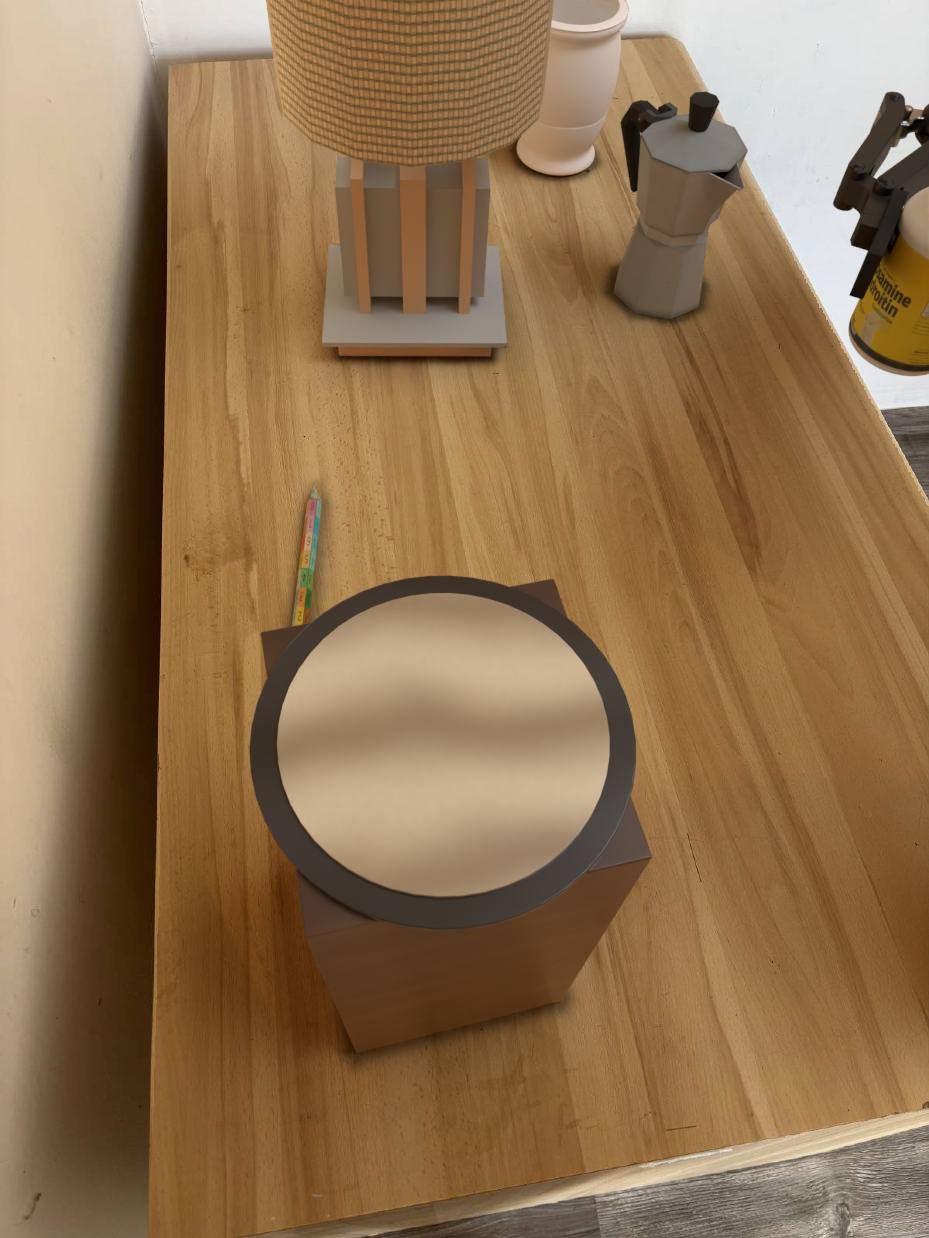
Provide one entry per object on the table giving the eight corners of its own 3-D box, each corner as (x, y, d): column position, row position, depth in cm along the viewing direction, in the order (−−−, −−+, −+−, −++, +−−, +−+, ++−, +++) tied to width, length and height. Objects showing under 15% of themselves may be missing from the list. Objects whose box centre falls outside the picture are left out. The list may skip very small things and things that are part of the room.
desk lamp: (300, 389, 80) (226, -100, 50) (313, 245, 90) (257, -229, 61) (528, 389, 81) (587, -91, 51) (514, 247, 91) (556, -220, 62)
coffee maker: (737, 312, 87) (802, 122, 72) (663, 344, 84) (715, 154, 69) (639, 226, 94) (679, 35, 78) (567, 253, 91) (595, 61, 76)
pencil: (309, 486, 74) (284, 686, 64) (307, 477, 73) (282, 678, 63) (325, 487, 74) (303, 686, 64) (324, 477, 73) (301, 678, 63)
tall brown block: (582, 1015, 54) (694, 873, 31) (341, 1077, 51) (275, 973, 29) (518, 791, 61) (572, 545, 38) (304, 837, 59) (228, 606, 36)
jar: (623, 168, 99) (651, 15, 86) (540, 194, 96) (558, 39, 83) (568, 118, 104) (588, -34, 91) (488, 141, 101) (497, -12, 88)
